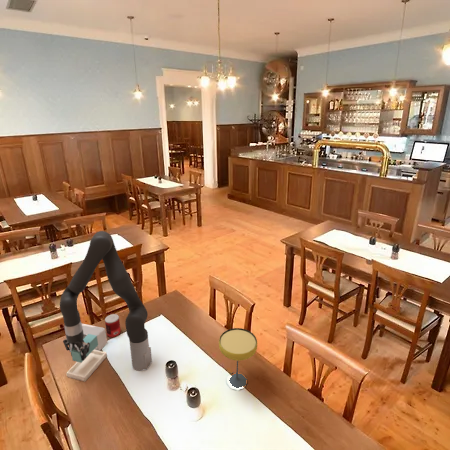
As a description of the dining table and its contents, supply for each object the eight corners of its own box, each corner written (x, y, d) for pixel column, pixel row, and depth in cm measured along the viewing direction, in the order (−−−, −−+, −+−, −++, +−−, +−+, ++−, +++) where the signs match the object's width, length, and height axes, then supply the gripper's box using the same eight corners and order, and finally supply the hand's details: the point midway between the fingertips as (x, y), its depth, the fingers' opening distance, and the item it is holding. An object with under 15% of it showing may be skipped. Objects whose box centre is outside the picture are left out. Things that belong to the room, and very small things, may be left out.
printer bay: (107, 342, 179) (105, 327, 175) (99, 351, 172) (96, 336, 169) (85, 337, 183) (82, 323, 179) (76, 346, 176) (73, 331, 172)
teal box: (98, 344, 165) (96, 334, 163) (81, 362, 153) (79, 352, 151) (90, 343, 166) (88, 332, 164) (72, 360, 155) (70, 349, 152)
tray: (107, 356, 169) (106, 352, 168) (85, 381, 153) (84, 377, 152) (90, 352, 172) (89, 348, 171) (67, 376, 156) (66, 372, 155)
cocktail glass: (241, 403, 142) (243, 360, 134) (211, 383, 152) (210, 342, 144) (262, 378, 156) (264, 337, 147) (232, 361, 166) (233, 322, 157)
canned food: (122, 329, 190) (120, 314, 186) (117, 338, 182) (115, 322, 179) (110, 328, 190) (108, 313, 187) (104, 337, 183) (102, 321, 179)
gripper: (91, 328, 151) (96, 355, 157) (67, 322, 155) (72, 350, 160) (81, 338, 144) (86, 366, 150) (55, 332, 148) (61, 360, 154)
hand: (79, 358), depth 155 cm, fingers closed on teal box, 5 cm apart
